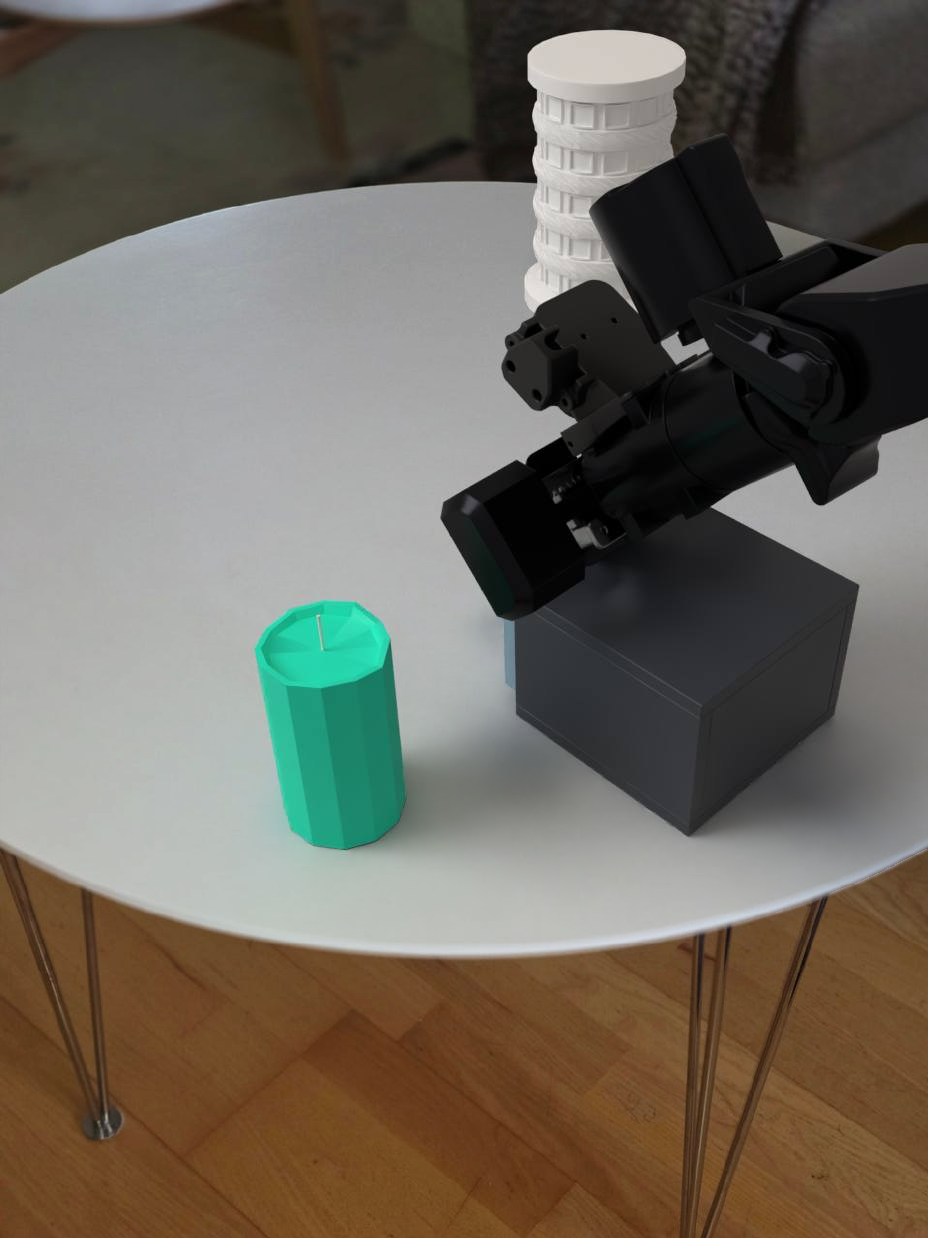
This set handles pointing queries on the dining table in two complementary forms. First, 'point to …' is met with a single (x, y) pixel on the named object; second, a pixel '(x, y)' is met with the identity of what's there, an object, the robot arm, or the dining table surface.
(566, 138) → the decorative container
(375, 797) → the candle
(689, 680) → the dark grey box
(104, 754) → the dining table surface
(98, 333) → the dining table surface
